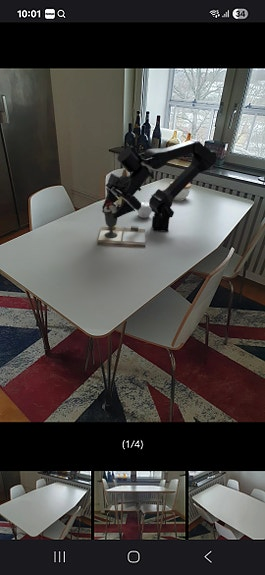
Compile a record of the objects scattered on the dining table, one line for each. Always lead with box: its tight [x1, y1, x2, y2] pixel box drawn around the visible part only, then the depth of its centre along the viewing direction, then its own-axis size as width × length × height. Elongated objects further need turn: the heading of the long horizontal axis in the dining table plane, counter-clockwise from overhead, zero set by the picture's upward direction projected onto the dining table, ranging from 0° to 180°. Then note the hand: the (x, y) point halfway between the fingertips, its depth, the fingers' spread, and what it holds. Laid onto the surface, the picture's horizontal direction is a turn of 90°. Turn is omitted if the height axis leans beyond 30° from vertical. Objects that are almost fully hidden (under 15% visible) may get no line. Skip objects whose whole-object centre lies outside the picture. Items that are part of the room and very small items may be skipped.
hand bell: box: [115, 168, 128, 206], centre depth 152 cm, size 8×8×16 cm
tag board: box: [96, 224, 146, 248], centre depth 124 cm, size 18×14×2 cm
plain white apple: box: [137, 199, 153, 219], centre depth 141 cm, size 7×7×8 cm
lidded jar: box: [169, 180, 192, 201], centre depth 163 cm, size 11×11×9 cm
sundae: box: [101, 198, 121, 238], centre depth 118 cm, size 7×7×15 cm
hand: (108, 213), depth 117 cm, fingers open, 9 cm apart
